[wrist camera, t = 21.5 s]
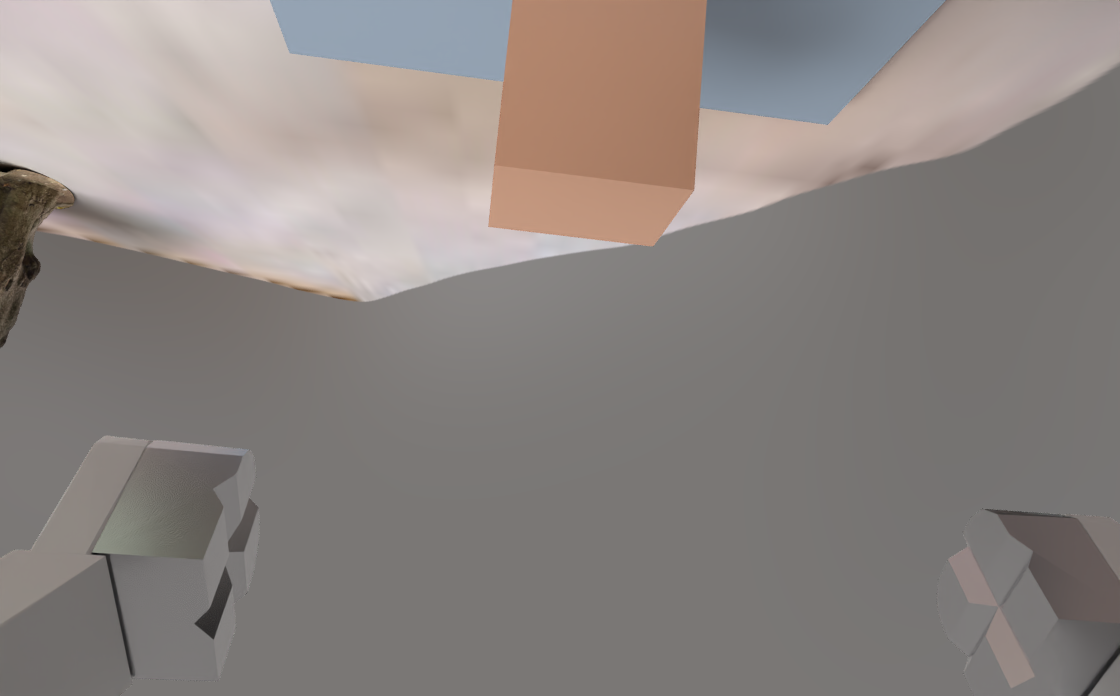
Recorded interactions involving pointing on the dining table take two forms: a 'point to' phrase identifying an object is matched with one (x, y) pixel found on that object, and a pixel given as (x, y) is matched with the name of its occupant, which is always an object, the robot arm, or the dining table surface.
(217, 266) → the dining table surface
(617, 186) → the terracotta brick
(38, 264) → the tree stump
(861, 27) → the blue-grey baseplate
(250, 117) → the dining table surface
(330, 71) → the dining table surface
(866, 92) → the dining table surface
